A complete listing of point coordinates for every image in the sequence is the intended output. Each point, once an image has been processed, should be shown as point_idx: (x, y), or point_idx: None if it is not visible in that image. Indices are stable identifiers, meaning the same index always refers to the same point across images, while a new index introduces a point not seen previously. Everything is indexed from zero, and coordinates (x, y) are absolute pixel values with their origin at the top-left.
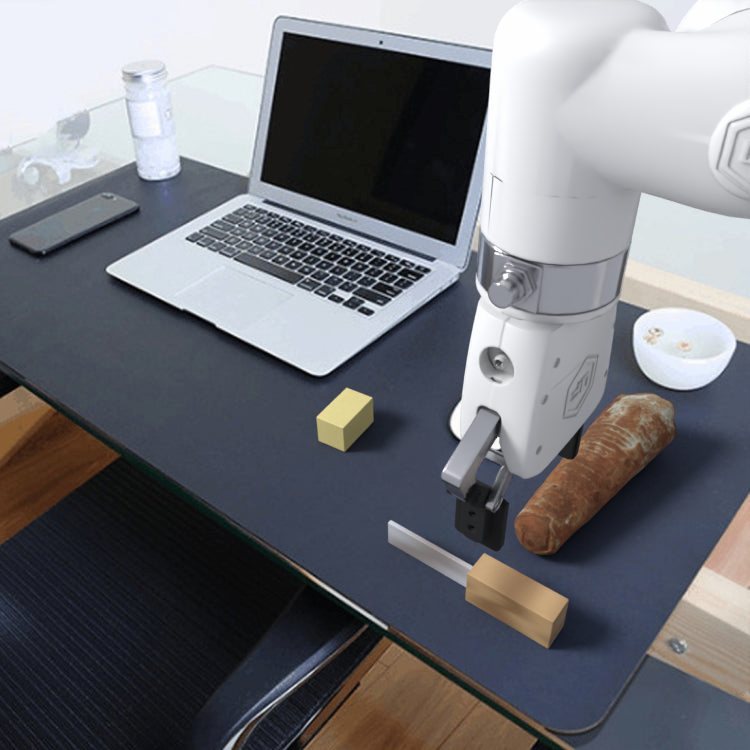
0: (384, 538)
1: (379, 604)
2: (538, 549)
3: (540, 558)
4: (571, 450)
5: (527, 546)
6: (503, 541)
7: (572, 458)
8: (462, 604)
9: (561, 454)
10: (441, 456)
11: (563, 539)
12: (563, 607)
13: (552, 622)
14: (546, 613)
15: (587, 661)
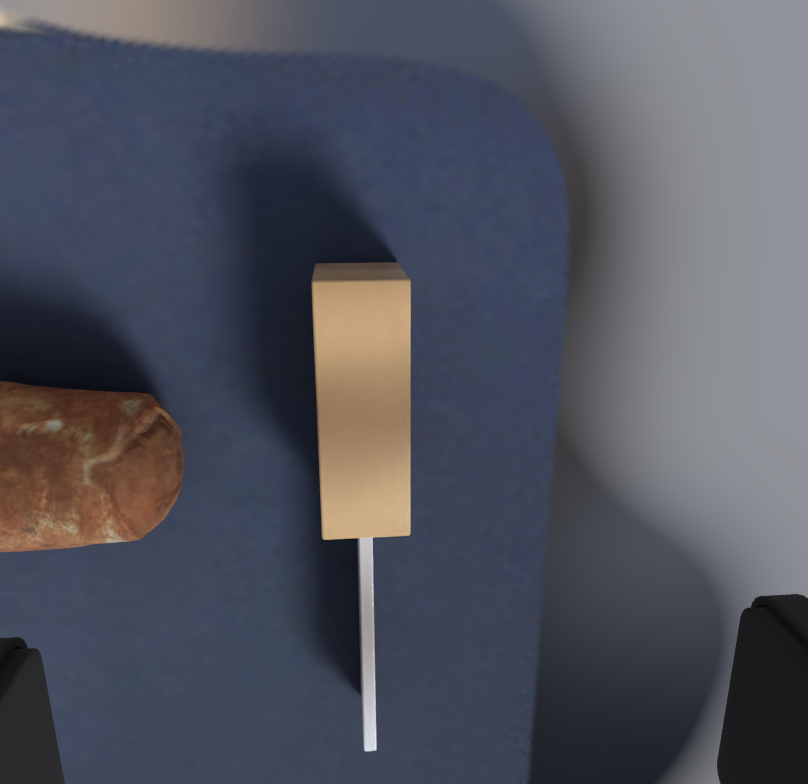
0: None
1: (521, 612)
2: (174, 433)
3: None
4: (4, 697)
5: (182, 460)
6: (793, 616)
7: (16, 642)
8: (412, 483)
9: (42, 699)
10: None
11: (105, 398)
12: (346, 280)
13: (410, 281)
14: (395, 309)
15: (368, 164)
